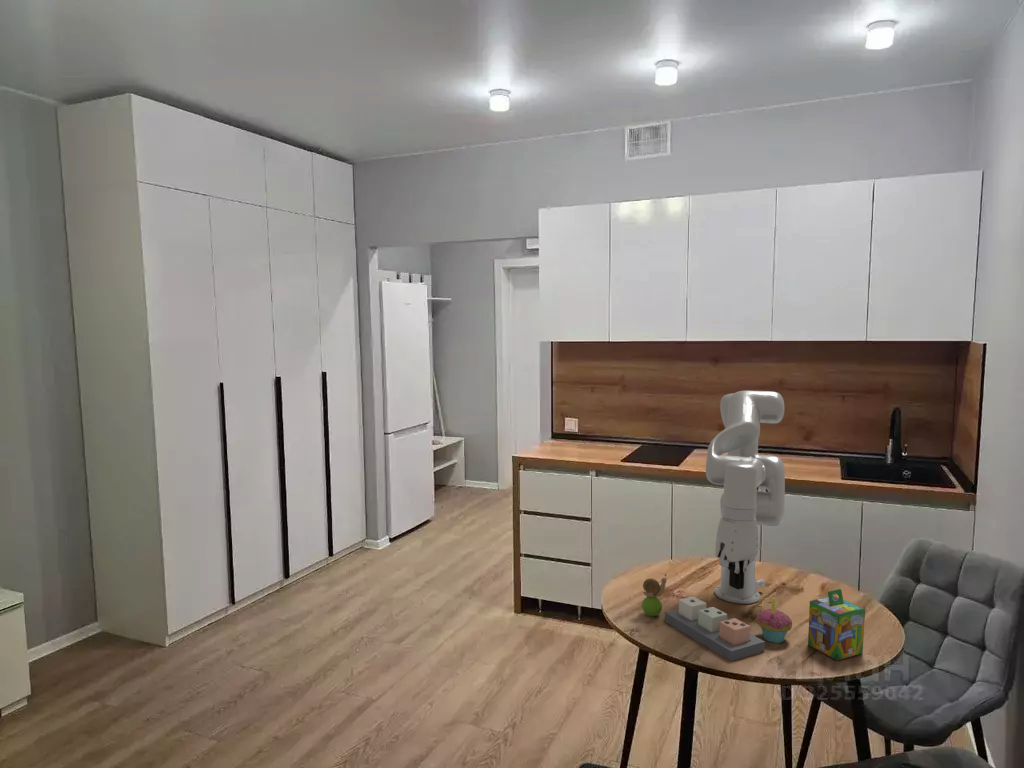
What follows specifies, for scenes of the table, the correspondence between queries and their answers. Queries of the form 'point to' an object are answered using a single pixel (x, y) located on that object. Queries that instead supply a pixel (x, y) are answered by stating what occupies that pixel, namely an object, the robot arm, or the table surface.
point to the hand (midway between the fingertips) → (736, 587)
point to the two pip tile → (711, 619)
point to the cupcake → (774, 624)
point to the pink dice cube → (734, 631)
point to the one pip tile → (691, 607)
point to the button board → (714, 638)
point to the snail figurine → (653, 596)
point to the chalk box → (836, 626)
